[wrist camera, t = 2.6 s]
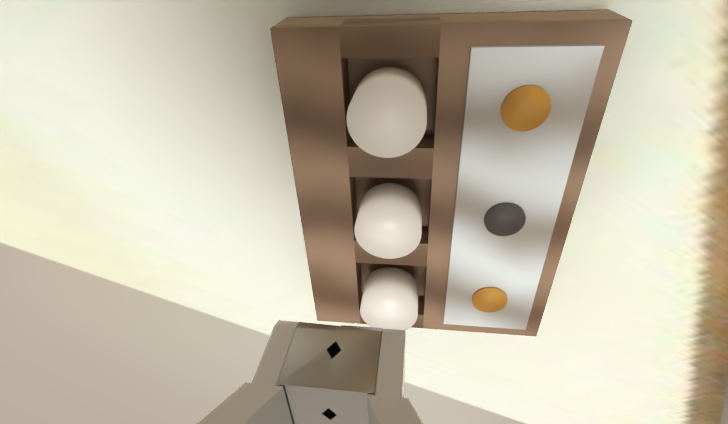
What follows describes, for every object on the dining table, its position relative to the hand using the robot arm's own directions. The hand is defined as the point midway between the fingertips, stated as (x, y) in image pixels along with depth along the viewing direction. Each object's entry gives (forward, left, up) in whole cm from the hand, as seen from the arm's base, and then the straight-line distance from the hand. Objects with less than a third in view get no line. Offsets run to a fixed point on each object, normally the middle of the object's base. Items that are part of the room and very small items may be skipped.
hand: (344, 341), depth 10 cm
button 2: (0, 0, -16) cm, 16 cm away
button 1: (+14, 0, -16) cm, 21 cm away
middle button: (+7, 0, -16) cm, 17 cm away
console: (+7, +2, -18) cm, 20 cm away
